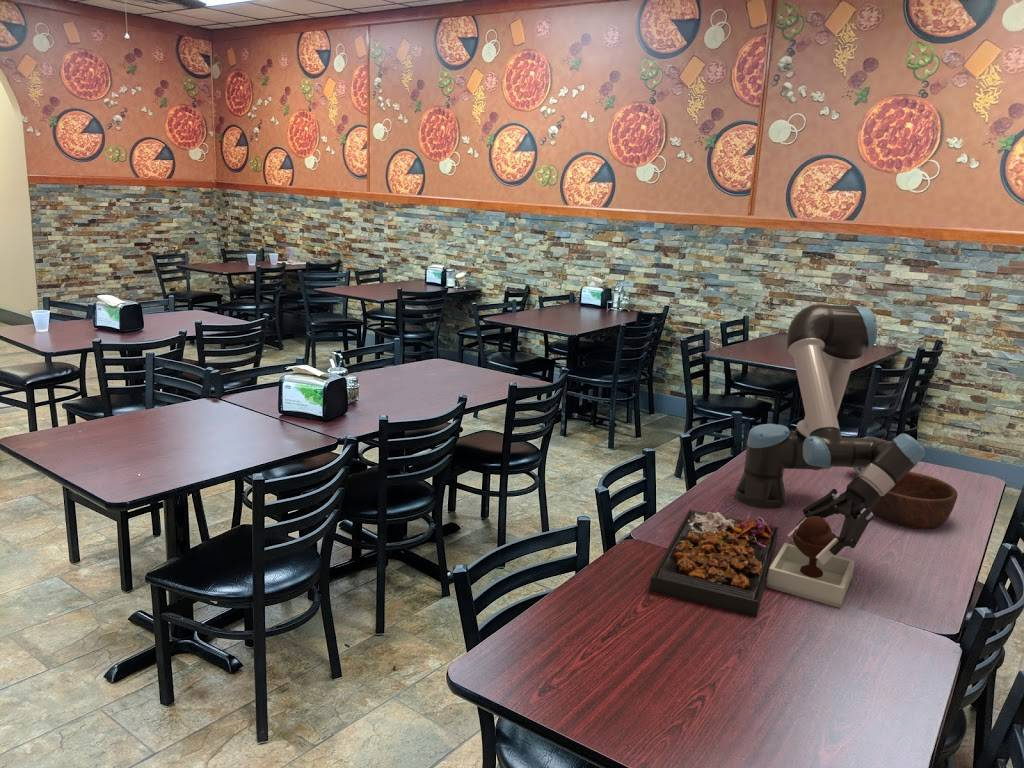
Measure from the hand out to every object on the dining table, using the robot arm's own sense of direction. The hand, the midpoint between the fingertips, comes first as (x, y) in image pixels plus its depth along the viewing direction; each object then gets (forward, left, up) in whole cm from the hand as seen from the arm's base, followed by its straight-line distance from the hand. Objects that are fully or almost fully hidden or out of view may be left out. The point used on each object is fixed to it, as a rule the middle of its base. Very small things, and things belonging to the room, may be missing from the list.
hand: (804, 549), depth 194 cm
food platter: (-20, -1, -10) cm, 22 cm away
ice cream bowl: (+2, +2, -6) cm, 7 cm away
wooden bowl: (+18, +64, -9) cm, 67 cm away
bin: (+2, +2, -9) cm, 10 cm away
